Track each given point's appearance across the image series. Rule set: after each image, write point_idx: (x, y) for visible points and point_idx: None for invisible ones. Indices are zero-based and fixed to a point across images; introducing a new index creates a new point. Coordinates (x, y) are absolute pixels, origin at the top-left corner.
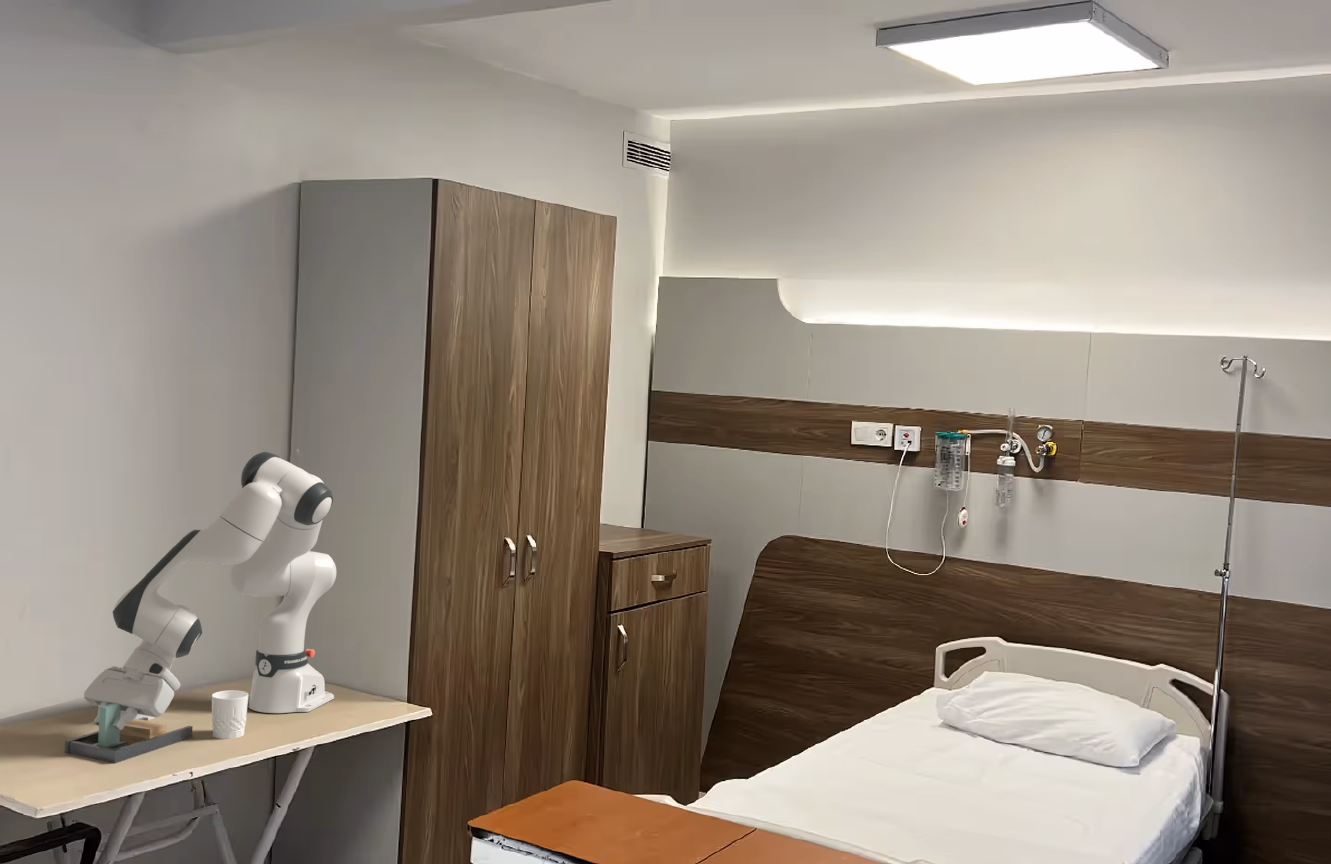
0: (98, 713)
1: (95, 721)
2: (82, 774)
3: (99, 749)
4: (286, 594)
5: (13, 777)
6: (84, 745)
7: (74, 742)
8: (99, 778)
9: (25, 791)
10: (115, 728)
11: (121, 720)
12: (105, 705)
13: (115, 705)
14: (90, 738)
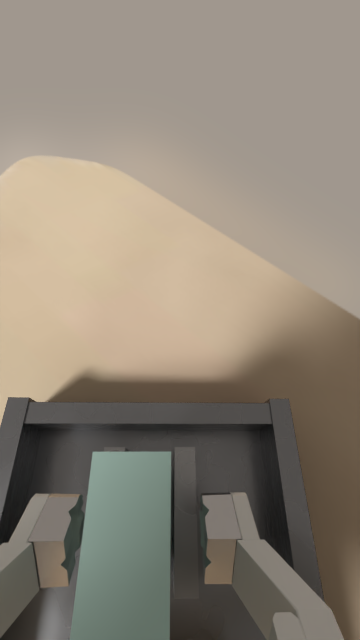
0: (261, 545)
1: (231, 493)
2: (82, 313)
3: (102, 403)
4: None
5: (213, 231)
6: (186, 403)
7: (246, 407)
8: (14, 311)
9: (114, 190)
10: (81, 515)
11: (14, 535)
12: (165, 527)
13: (75, 598)
14: (283, 534)
